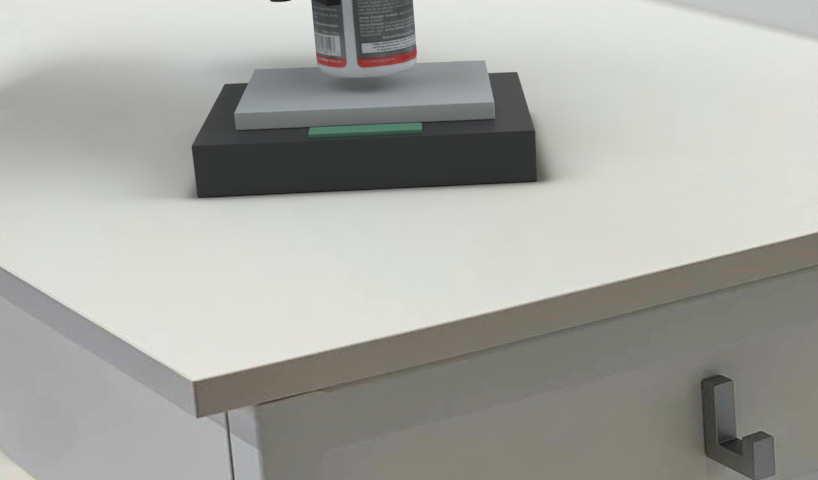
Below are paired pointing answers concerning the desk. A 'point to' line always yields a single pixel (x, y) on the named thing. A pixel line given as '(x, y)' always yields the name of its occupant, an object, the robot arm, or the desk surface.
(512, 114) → the scale
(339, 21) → the pill bottle
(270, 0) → the robot arm
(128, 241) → the desk surface
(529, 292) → the desk surface
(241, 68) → the desk surface
